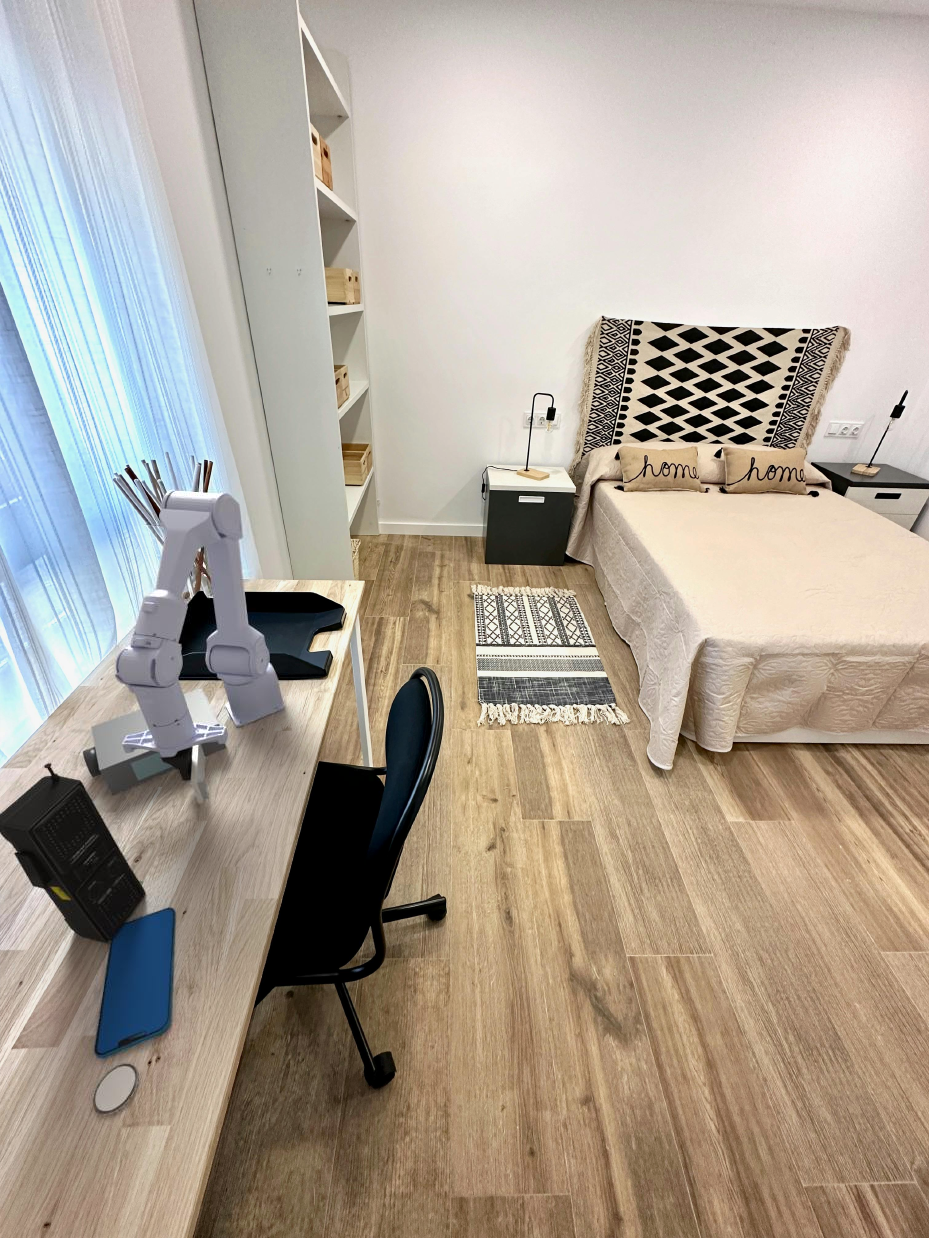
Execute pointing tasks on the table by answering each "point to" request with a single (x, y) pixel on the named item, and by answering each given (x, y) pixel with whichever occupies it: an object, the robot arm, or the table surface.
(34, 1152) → the table surface
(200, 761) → the side door
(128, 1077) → the white round disc
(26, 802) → the portable radio
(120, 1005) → the smartphone
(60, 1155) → the table surface
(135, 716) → the camera housing
